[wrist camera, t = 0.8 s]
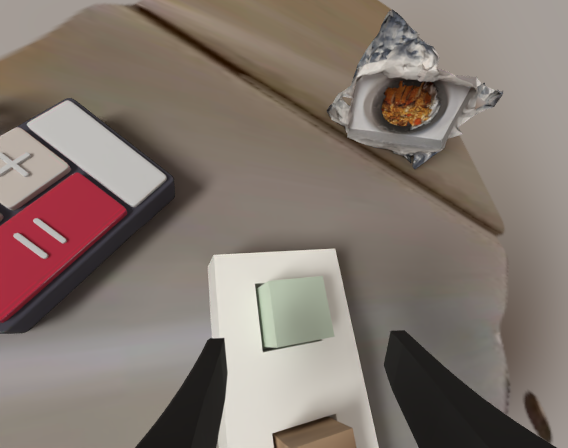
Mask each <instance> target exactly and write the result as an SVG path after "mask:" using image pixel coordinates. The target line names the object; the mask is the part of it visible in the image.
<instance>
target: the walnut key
mask: <svg viewBox="0 0 568 448" xmlns="http://www.w3.org/2000/svg"><path fill="white" fill-rule="evenodd" d="M272 436H273V444H274V448H356V442H355V437H354V432H353V428H352V427H349V426H347V425H345V424H343V423H341V422H338V421H336V420H334V419H332V418H330V417H327V416H326V417H323V418H320V419H317V420H313V421H310V422H307V423H304V424H301V425H297V426H294V427H291V428H288V429H285V430H281V431H278V432H275V433H272Z"/></svg>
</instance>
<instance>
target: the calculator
mask: <svg viewBox="0 0 568 448" xmlns="http://www.w3.org/2000/svg"><path fill="white" fill-rule="evenodd" d="M174 197H175V188H174V178H173V176H172V175H170V174H169V173H168V172H167V171H165V170H164V169H163V168H161V167H160V166H159V165H158V164H156V163H155V162H154V161H153V160H151V159H150V158H149V157H147V156H146V155H145V154H144V153H142V152H141V151H140V150H138V149H137V148H136V147H135V146H133V145H132V144H131V143H129V142H128V141H127V140H126V139H124V138H123V137H122V136H121V135H119V134H118V133H117V132H115V131H114V130H113V129H112V128H110V127H109V126H108V125H106V124H105V123H104V122H103V121H101V120H100V119H99V118H97V117H96V116H95V115H94V114H92V113H91V112H90V111H88V110H87V109H86V108H85V107H83V106H82V105H81V104H80V103H78V102H77V101H76V100H74V99H72V98H67V99H65V100H63V101H61V102H59V103H58V104H56V105H54V106H52V107H51V108H49V109H47V110H45V111H44V112H42V113H40V114H38V115H37V116H35V117H33V118H31V119H30V120H28V121H26V122H24V123H23V124H21V125H19V126H17V127H16V128H14V129H12V130H10V131H8V132H7V133H5V134H3V135H1V136H0V334H13V333H25V332H27V331H28V330H29V329H31V328H32V327H33V326H34V325H35V324H36V323H37V322H38V321H39V320H41V319H42V318H43V317H44V316H45V315H46V314H47V313H48V312H49V311H50V310H52V309H53V308H54V307H55V306H56V305H57V304H58V303H59V302H60V301H61V300H62V299H64V298H65V297H66V296H67V295H68V294H69V293H70V292H71V291H72V290H73V289H75V288H76V287H77V286H78V285H79V284H80V283H81V282H82V281H83V280H84V279H85V278H87V277H88V276H89V275H90V274H91V273H92V272H93V271H94V270H95V269H96V268H97V267H98V266H99V265H100V264H101V263H103V262H104V261H105V260H106V259H107V258H108V257H109V256H110V255H111V254H112V253H113V252H114V251H115V250H116V249H118V248H119V247H120V246H121V245H122V244H123V243H124V242H125V241H126V240H127V239H128V238H129V237H130V236H131V235H132V234H134V233H135V232H136V231H137V230H138V229H139V228H141V227H142V226H144V225H145V224H146V223H147V222H148V221H149V220H150V219H151V218H153V217H154V216H155V215H156V214H157V213H158V212H159V211H160V210H161V209H162V208H164V207H165V206H166V205H167V204H168V203H169V202H170V201H171V200H172V199H173V198H174Z"/></svg>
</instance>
